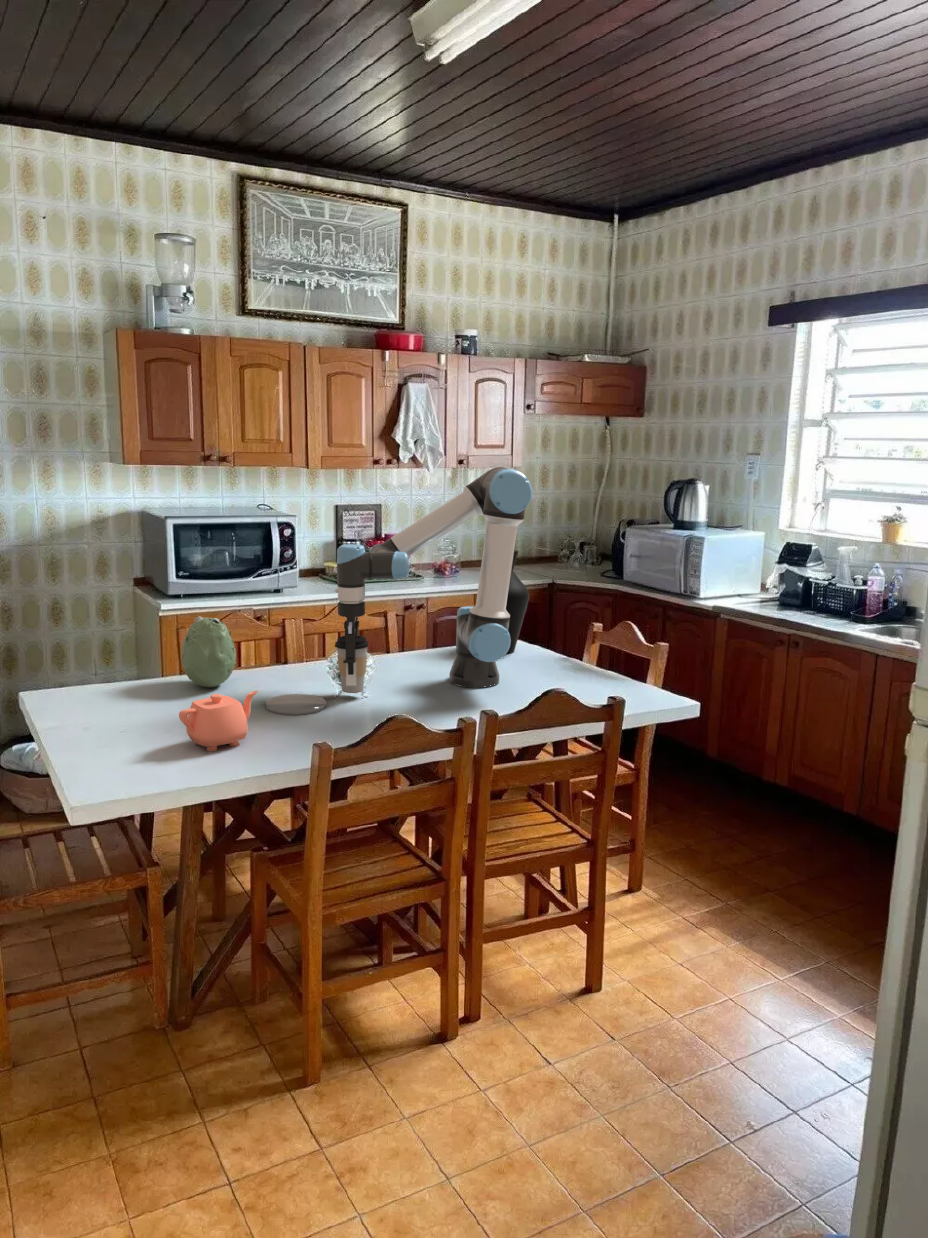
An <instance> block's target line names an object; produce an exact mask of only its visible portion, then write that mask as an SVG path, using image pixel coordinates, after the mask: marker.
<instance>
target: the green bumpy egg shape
mask: <svg viewBox="0 0 928 1238" xmlns="http://www.w3.org/2000/svg"><path fill="white" fill-rule="evenodd" d="M231 636H232V630H230V631H229V630H228V627H227V625H226V624H225V622H224V621H222V622H221V620H220V619H219V618H217V617H214V618H213V617H205V616H204V617H202V616H200V615H199V616H196V617H194V619H193V622H192V623H191V624H190V626H189V627H188V629H187V632H186V634H185V636H184V639H183V640H182V644H181V664H182V666H183V670H184V673H185V675H186V676H187V678H188V680H190V681H191V682H192V683H194V684H196V685H198V686H201V687H202V688H216V687H218V686H220V685H222V684H224V683H225V682H226V681H227V680H228V679H229V678H230V676H231V675H232V672H233V671H234V668H235V666H236V665H237V664H236V659H237V653H236V651H237V649H236V648H235V643H234V639H233V638H232V637H231Z"/></svg>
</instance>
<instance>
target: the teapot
mask: <svg viewBox="0 0 928 1238" xmlns="http://www.w3.org/2000/svg"><path fill="white" fill-rule="evenodd" d="M257 693H258V690H254V691H251V692H248V693H247V694H246V697H244V701H243V705H242V703H241V701H239V700H237V699H236V698H234V697H231V696H228V695H223V694H220V693H213V694H211V695H209V696H210V697H205V698H201V699H197V700H196V699H195V700H194V701H192V703H191V705H190V708H185V709H182V710H180V711H179V713H178V719H179V720H180V722H181V723H182V724H183V725H184V726H185V727H186V733H187V736H188V738H189V740H191V741H193V742H194V743H195V744H196V745H200V746H201V747H206V751H207V752H216V751H218V746H223V745H227V744H228V745H229V746H230V747H239V746H241V743H240V742H239V741H241V740H244V739H246V737H247V734H248V731H249V728H248V720H249V718H250V715H251V712H252V711H251V709H252V707H251V706H252V700H253V698H254V696H255V695H256V694H257Z"/></svg>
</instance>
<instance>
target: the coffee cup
mask: <svg viewBox="0 0 928 1238" xmlns="http://www.w3.org/2000/svg"><path fill="white" fill-rule="evenodd" d="M336 640H337V641H335V643H334V647H335V648H336V651H337V664H338V671H339V673H338V674H339V675H340V676H339V677H340V682H341V691H342V692H343V693H346V694H358V693H362V692H363V691H364V685H365V679H366V677H365V675H366V670H367V661H368V648H369V646H370V643H369V641H368V640H367V638H366V636H362V635H358V636H357V638H356V641H355V660H356V686H346V663H343V660H345V659H346V638H345V635H342V636H339V637H337V639H336Z"/></svg>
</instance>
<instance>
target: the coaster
mask: <svg viewBox="0 0 928 1238" xmlns="http://www.w3.org/2000/svg"><path fill="white" fill-rule="evenodd" d="M326 707H327V701H326V699H324V698H323V697H321V696H317V695H313V694H306V693H305V694H303V693H302V694H301V693H295V694H294V693H290V694H282V695H277V696H274V697H272V698H269V699H268V700H266V702H265V709H266V710H267V711H268V712H270V713H272V714H277V715H282V716H283V715H284V716H304V715H305V716H306V715H312V714H316V713H319V712H321V711H323V710H325V709H326Z"/></svg>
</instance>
